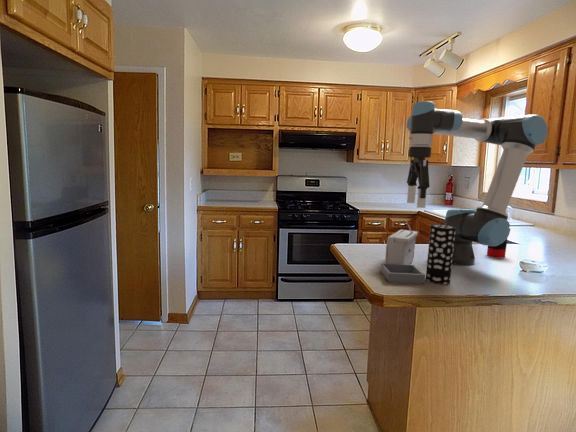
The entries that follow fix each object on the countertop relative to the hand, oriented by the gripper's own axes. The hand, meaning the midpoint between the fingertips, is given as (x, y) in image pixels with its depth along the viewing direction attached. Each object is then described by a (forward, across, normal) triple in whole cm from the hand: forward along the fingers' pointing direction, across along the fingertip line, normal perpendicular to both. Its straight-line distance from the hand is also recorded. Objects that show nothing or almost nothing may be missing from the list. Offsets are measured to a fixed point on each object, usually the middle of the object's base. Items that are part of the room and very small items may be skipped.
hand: (415, 205), depth 139 cm
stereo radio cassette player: (+27, -15, 0) cm, 31 cm away
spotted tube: (+27, +5, +9) cm, 29 cm away
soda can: (+28, -39, +50) cm, 69 cm away
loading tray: (+27, +4, -4) cm, 27 cm away
